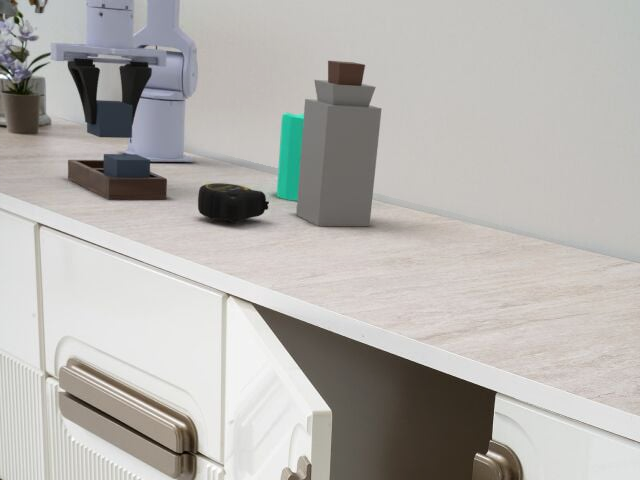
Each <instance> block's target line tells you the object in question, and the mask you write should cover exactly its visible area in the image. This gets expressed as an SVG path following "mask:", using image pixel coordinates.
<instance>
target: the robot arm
mask: <svg viewBox="0 0 640 480" xmlns="http://www.w3.org/2000/svg"><path fill="white" fill-rule="evenodd" d="M180 4H181V0H146V24H145V26H144V27H142V28H140V29H139V30H138V31H137V32H135V33H134V28H135V27H134V24H135V23H134V22H135V20H134V18H135V0H86V41H85V43H62V42H60V43H59V42H50V60H52V61H55V62H67V69H68V71H69V74H70V75H71V77H72V80H73V82H74V84H75V87H76V90H77V92H78V95H79V98H80V102H81V107H82V111H83V117H84V122H85V123H86V124H87V123H89V124H96V117H97V100H98V98H97V97H98V86H99V79H100V73H101V69H100V68H99V67H97V66H96V64H94V63H98V64H99V63H100V64H115V65H117V64H121V65H120V66H119V67H118V68H119V75H120V76H119V77H120V84H121V85H120V86H121V102H124V103H127V104H130V105H132V106H133V107H132V138H127V148H122V149H121V152H122V154H137V155H139V156H142V157H144V158H147V159H149V160H150V163H151V162H152V163H153V162H155V163H156V162H158V163H159V162H161V163H163V162H164V163H167V162H168V163H173V162H174V163H193V162H194V161H195V160H194V158H193V157H190V156H188V155H184V153H185V152H184V151H185V128H186V127H185V125H186V100H188V99H189V98H191V97H192V96H193V95H194V94H195V92H196V89H197V87H198V86H197V85H198V76H199V66H198V56H197V55H198V54H197V53H198V47H197V45H196V43H195V42H194V40H193V39H192V38H191V37H190V36H189V35H188V33H186V32H185V31H183V30H182V28H180V6H181V5H180ZM150 46H153V47H162V48H170V49H171V48H172V49H175V50H176V49H177V50H179V51H173V50H164V49H160V48H159V49H158V48H157V49H156V48H147V47H150ZM99 55H104V56H115V57H121V58H120V59H119V58H107V57H105V58H104V57H99Z"/></svg>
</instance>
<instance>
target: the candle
mask: <svg viewBox="0 0 640 480" xmlns="http://www.w3.org/2000/svg"><path fill="white" fill-rule="evenodd" d="M303 120H304V113H302V114H293V113H290V112H285V113H283V114H282V115H281V123H280V124H281V125H280V140H279V153H278V168H277V180H276V181H277V183H276V196H277V198H280V199H282V200H287V201H288V200H289V201H296V202H297V199H298V186H299V173H300V160H301V147H302V134H303Z"/></svg>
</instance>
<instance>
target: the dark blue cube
mask: <svg viewBox="0 0 640 480" xmlns="http://www.w3.org/2000/svg"><path fill="white" fill-rule="evenodd" d="M103 160H104V174H106V175H108V176H110V177H112V178H150V172H151V162H150V160H149V159H147V158H144V157H142V156H139V155H137V154H126V153H120V154H119V153H104V154H103Z"/></svg>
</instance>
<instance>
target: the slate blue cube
mask: <svg viewBox="0 0 640 480" xmlns="http://www.w3.org/2000/svg"><path fill="white" fill-rule="evenodd" d="M132 107H133V106H132V105H130V104H127V103H124V102H122V100H120V101H119V100H101V99H99V100H98V99H97V117H96V124H89V123H86V133H88V134H91V135H93V136H94V137H98V138H111V139H113V138H114V139H115V138H118V139H128V138H132Z"/></svg>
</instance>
